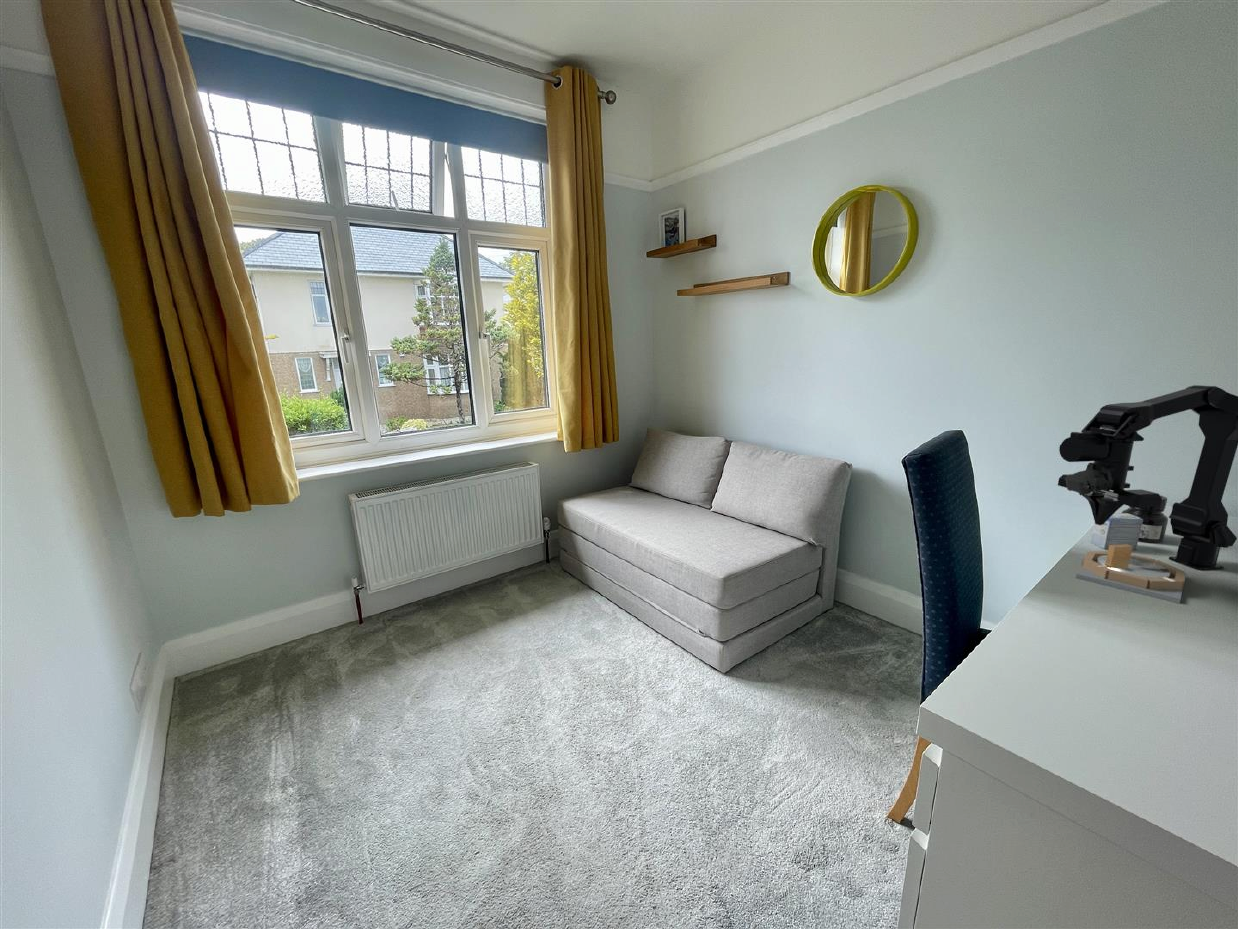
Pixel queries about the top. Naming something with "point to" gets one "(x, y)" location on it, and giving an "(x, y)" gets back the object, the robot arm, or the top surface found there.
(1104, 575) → the dial plate
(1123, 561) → the dial
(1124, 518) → the medicine box
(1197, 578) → the top surface
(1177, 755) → the top surface
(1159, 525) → the ink bottle
